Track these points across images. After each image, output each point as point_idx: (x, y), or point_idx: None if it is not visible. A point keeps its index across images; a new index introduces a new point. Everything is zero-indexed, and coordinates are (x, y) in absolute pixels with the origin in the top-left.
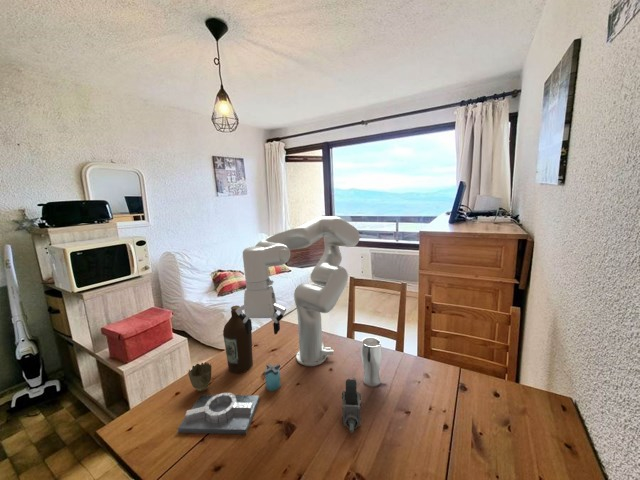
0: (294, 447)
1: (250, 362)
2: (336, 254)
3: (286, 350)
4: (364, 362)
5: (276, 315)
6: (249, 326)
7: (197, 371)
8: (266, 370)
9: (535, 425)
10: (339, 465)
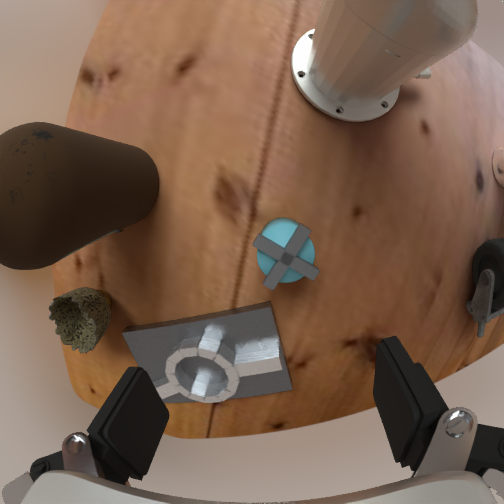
0: None
1: (151, 183)
2: None
3: (234, 53)
4: None
5: (449, 469)
6: (144, 432)
7: (63, 303)
8: (272, 279)
9: None
10: (450, 367)
